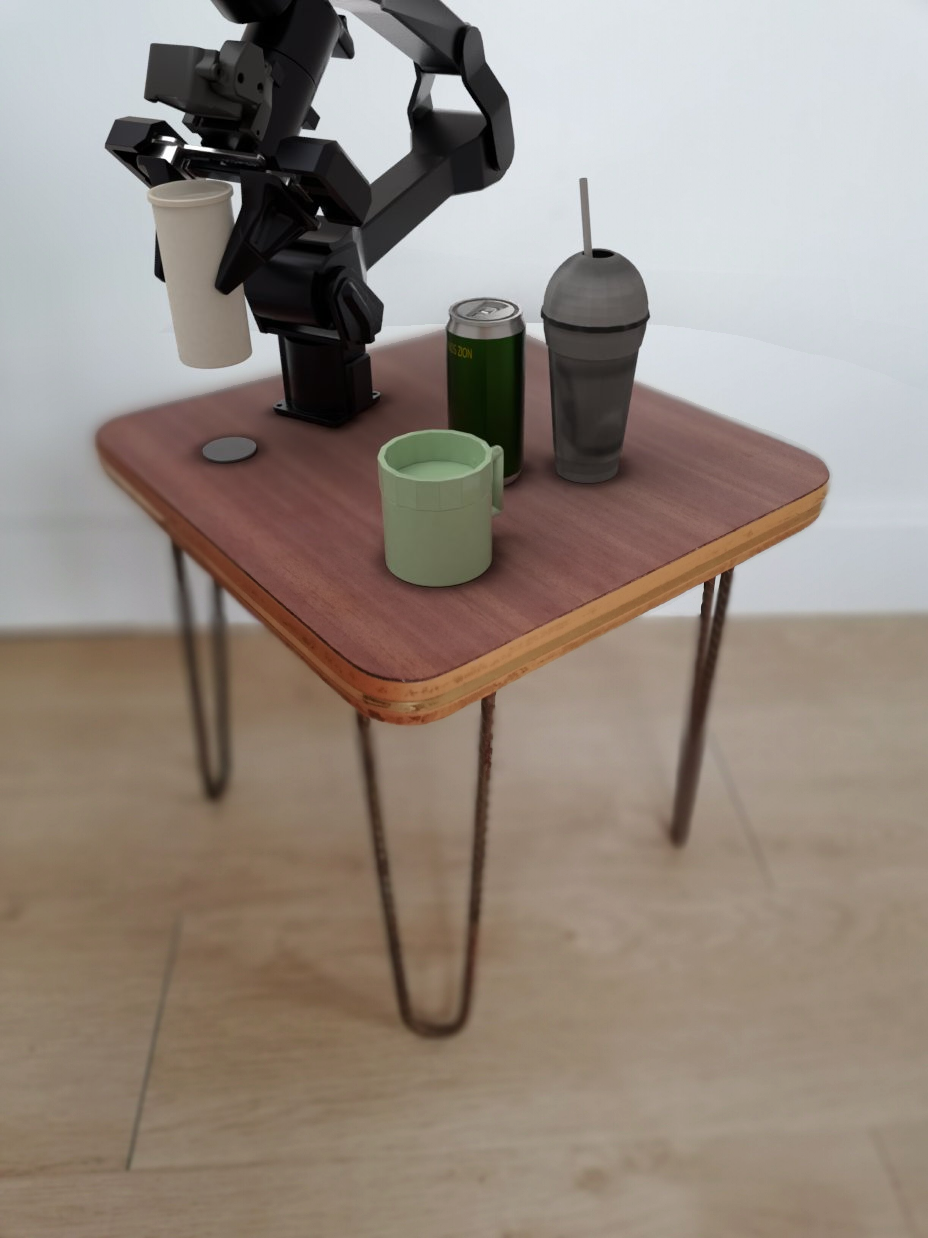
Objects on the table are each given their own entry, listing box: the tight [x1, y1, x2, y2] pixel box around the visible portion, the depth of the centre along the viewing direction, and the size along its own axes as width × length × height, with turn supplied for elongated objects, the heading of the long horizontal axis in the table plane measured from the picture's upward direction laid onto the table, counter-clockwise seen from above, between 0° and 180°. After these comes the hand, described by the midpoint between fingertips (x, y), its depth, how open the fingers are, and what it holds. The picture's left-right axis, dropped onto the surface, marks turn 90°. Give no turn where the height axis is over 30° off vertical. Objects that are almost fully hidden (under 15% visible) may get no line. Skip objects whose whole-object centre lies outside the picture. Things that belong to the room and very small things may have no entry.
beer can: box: [444, 296, 527, 487], centre depth 75 cm, size 5×5×12 cm
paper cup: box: [146, 179, 253, 370], centre depth 72 cm, size 5×5×11 cm
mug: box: [377, 429, 504, 588], centre depth 67 cm, size 9×7×7 cm
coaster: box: [202, 436, 257, 464], centre depth 82 cm, size 4×4×1 cm
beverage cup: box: [540, 177, 651, 484], centre depth 73 cm, size 7×7×20 cm
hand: (189, 285), depth 71 cm, fingers closed on paper cup, 5 cm apart
